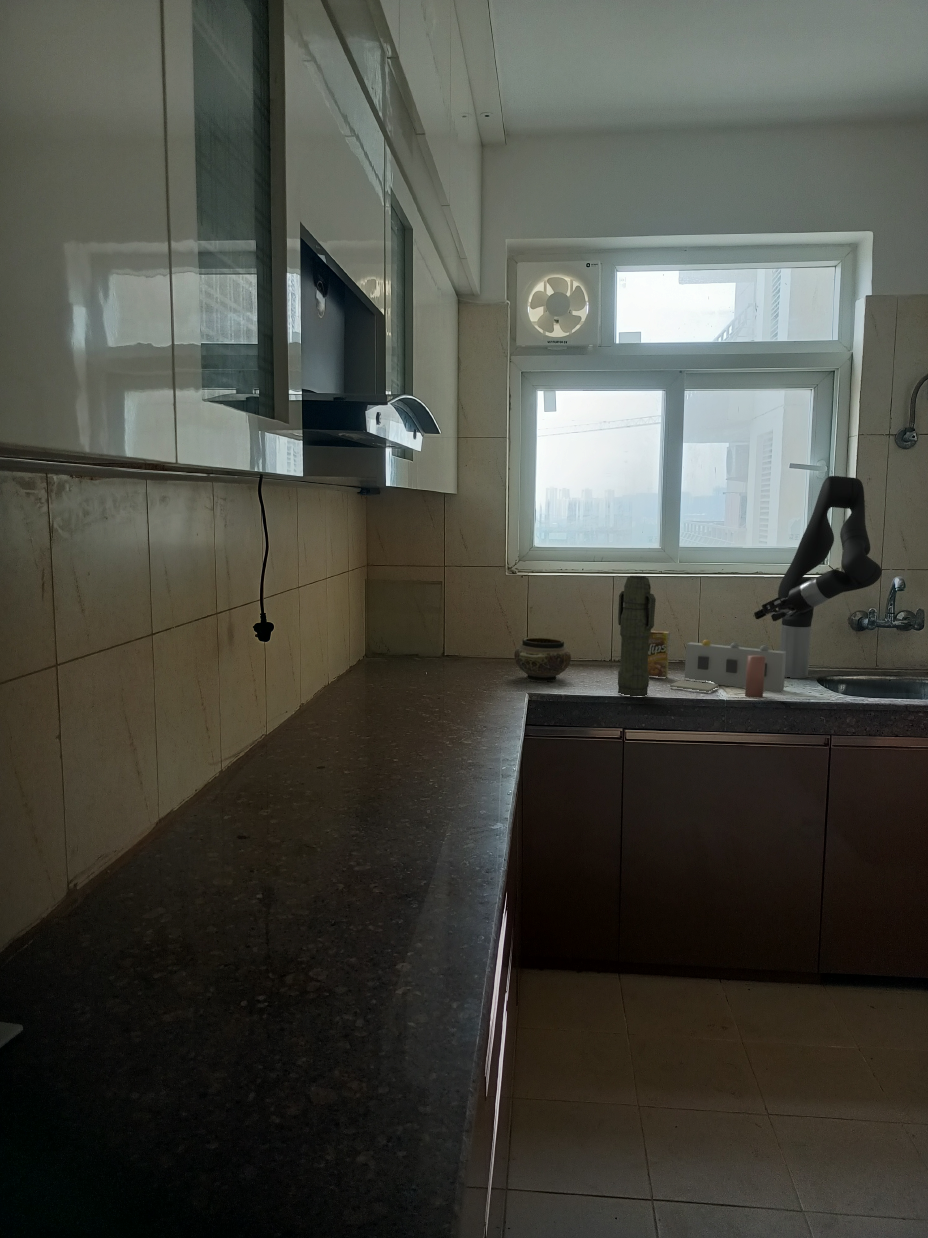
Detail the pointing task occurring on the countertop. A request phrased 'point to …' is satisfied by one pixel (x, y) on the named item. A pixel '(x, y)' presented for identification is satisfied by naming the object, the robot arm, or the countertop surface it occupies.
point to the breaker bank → (732, 664)
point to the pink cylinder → (755, 676)
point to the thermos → (635, 635)
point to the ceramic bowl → (542, 658)
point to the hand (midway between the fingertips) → (764, 617)
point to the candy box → (658, 653)
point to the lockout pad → (694, 685)
